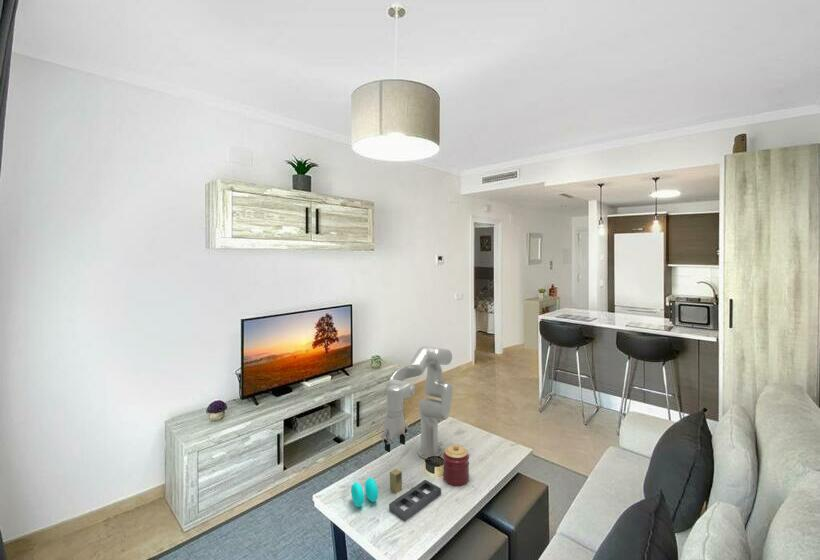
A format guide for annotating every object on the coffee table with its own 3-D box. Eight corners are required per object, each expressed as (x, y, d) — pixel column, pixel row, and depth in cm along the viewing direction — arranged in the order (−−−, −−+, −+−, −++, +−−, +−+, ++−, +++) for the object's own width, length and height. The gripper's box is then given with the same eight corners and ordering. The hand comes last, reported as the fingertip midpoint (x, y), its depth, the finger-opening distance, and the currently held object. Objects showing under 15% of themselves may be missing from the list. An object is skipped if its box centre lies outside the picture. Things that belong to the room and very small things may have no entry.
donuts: (379, 505, 167) (379, 484, 166) (358, 513, 162) (358, 491, 161) (370, 492, 176) (370, 472, 175) (350, 499, 171) (350, 479, 170)
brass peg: (396, 486, 180) (395, 468, 180) (401, 489, 178) (401, 471, 177) (390, 489, 178) (389, 472, 177) (395, 493, 175) (395, 475, 174)
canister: (461, 468, 194) (461, 436, 193) (473, 483, 182) (473, 448, 181) (439, 473, 190) (438, 440, 189) (449, 489, 178) (449, 453, 177)
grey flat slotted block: (425, 485, 181) (425, 479, 181) (441, 494, 174) (440, 488, 174) (389, 510, 163) (389, 503, 163) (405, 521, 157) (405, 514, 156)
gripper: (402, 404, 184) (402, 438, 185) (375, 415, 172) (376, 451, 173) (413, 409, 179) (413, 443, 180) (386, 420, 166) (386, 457, 167)
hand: (395, 447), depth 176 cm, fingers open, 9 cm apart
